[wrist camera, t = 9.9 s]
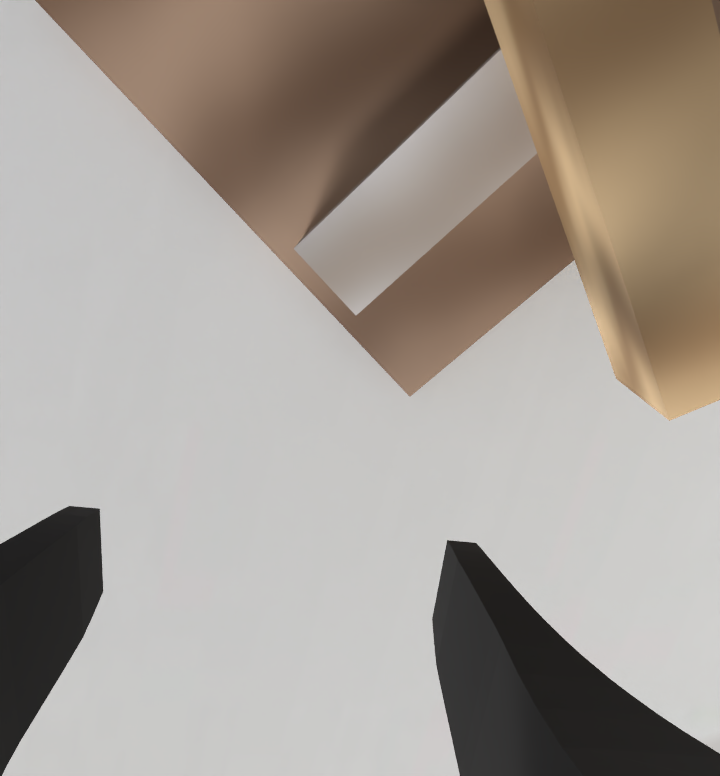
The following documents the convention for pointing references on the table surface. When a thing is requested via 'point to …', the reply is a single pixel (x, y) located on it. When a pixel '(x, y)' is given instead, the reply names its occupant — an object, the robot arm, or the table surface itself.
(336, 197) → the stand
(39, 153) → the table surface
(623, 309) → the oak bar
